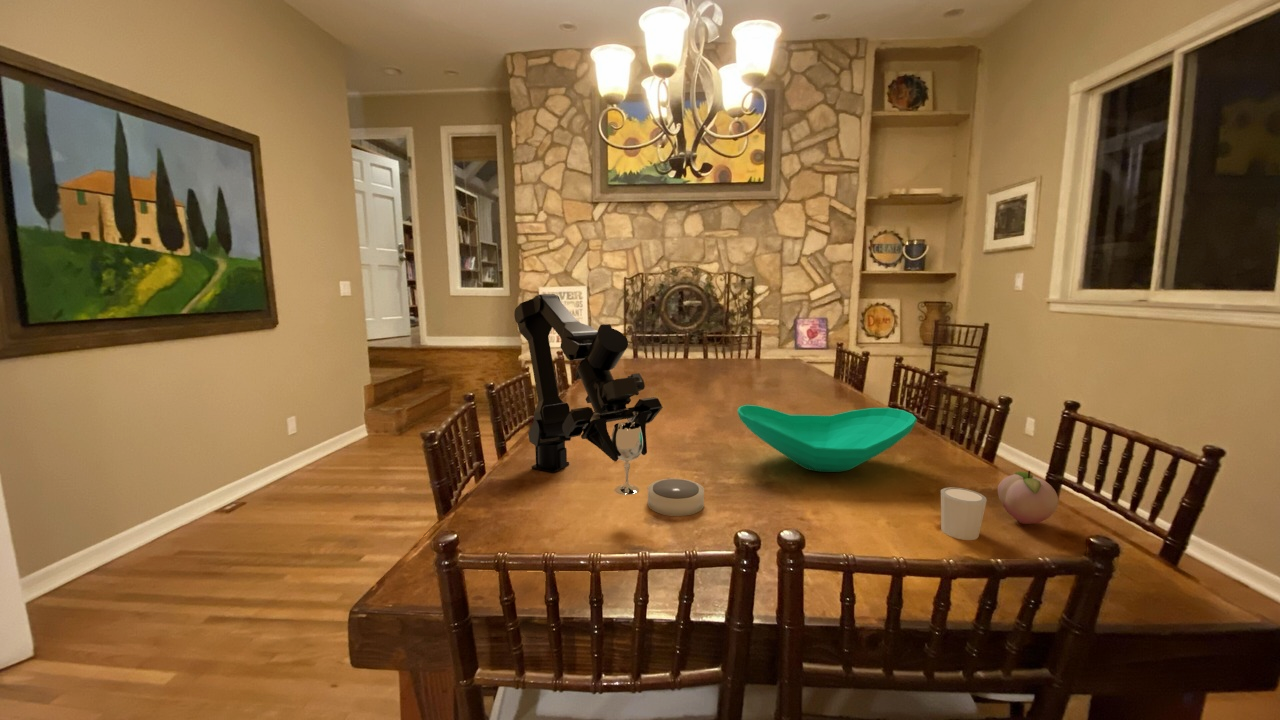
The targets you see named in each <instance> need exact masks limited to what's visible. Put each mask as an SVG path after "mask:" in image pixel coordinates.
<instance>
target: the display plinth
mask: <svg viewBox="0 0 1280 720" xmlns="http://www.w3.org/2000/svg"><path fill="white" fill-rule="evenodd" d="M704 501H705V488H704V487H703V486H702V485H701V484H700V483H697V482H696V481H693V480H690V479H684V478H663V479H659V480H656V481H653V482H652V483H650V484H649V485H648V487H647V506H648V508H649V509H650V508H651V509H652V510H651V509H650V510H651V511H653V512H655V513H657V514H660V515H664V516H668V517H669V516H670V517H686V516H691V515H695V514H696V513H697V514H698V513H699V512H701V511H702V510H703V509H704V506H705V502H704Z"/></svg>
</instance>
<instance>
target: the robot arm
mask: <svg viewBox="0 0 1280 720" xmlns="http://www.w3.org/2000/svg"><path fill="white" fill-rule="evenodd" d="M513 314H514V321H515V322H516V324H517V327H518V331H519V333H520V335H522V336H523V338H524V339H525V340H526V341H527V342H528V349H529V355H530V360H531V361H530V362H531V366H532V371H533V377H534V384H535V391H536V396H537V404H536V406H535V409H534V411H533V422H532V425H531V426H530V427H529V430H528V433H527V434H528V440H529V443H531V444H532V445H534V447H535V464H533V465H531V469H533V470H539V471H543V472H547V473H556V472H558V471H560V470H562V469H563V468H566V467H567V466H569V465H570V462H569V461H568V460H567V459H568V458H567V447H566V442H569V441H571V440H572V438H574V437H575V438H576V437H581V439H582V440H587V441H589V442H590V443H591V444H593V445H594V446H595V447H596V448H598V449H599V450H600V451H602V452H603V453H604V454H605V455H606V456H607V457H609V459H611V460H612V461H613V462H614V463H615V462H618V460H619V459H618V455H617V452H616V449H615V447H614V445H613V442H612V440H611V435H610V433H609V432H608V429H607V423H610V422H616V421H620V420H626V419H627V422H633V423H637V424H639V425H640V427H641V431H642V436H643V450H642V453H641V455H642V456H646V454H648V453H647V452H648V448H647V447H648V446H647V432H646V431H647V430H646V429H647V426H646V425H647V424H650V423H652V422H653V420H655V418H656V417H657V415H659V413H660V412H661V411H662V409H663V408H664V407H663V405H662V403H661V401H660V399H659V398H658V397H655V396H651V397H645V398H639V399H638V400H637V401H636V403H635V405H634V406H632V407H631V406H630V407H627V405H629V404H630V403H631V402H632V399H631V397H633V396H638V395H640V392H641V391H643V390H645V387H646V384H645V382H644V378H643V377H642V375H641V374H640V372H638V373H637V372H636V373H631V374H630V375H628V376H627V377H620V378H616V379H614V377H613V374H612V372H611V370H613V369H615V368H616V367H617V365H618V363H619V362H620V361H621V358H622V357H623V355H624V353H625V352H626V350H627V348H628V346H629V340H628V337H627V336H625V335H624V334H623V333H622V332H621V331H620V330H617V329H615V328H612V326H611V324H610V323H608V324H606V323H605V324H600V325H599V327H598V329H595V328H594V327H592V326H591V325H588V324H585V323H581V322H580V321H579V320H578V319H577V318H576V317H575V316H574V315H573V314H572V312H571V311H569V309H568V308H567V307H566V306H565V305H564V303H563V302H562V301H561V299H560V296H559V295H558V294H555V293H551V294H550V293H543V294H542V293H541V294H537V295H535V296H534V297H533V298H531V299H528V300H525V301H523V302H520V303H519V304H518V305H517V306H516V307H515V310H514V313H513ZM552 329H553V330H554V331H555V333H556V334H557V335H558V337H559V338H560V339H561V342H560V349H561V351H562V353H563V355H564V356H565V358H566V359H567V360H568V361H579V360H580V363H579V364H578V365H577V368H576V371H575V374H574V375H575V376H574V379H576V380H581V382H582V385H583V387H584V389H585V392H586V394H587V395H586V397H585V401H586V403H587V404H591V405H592V407H589V406H585V407H580V408H572V409H570V406H569V404H568V402H564V401H563V400H562V399H561V398H560V396H559V395H560V394H559V389H558V384H557V379H556V373H555V369H554V368H555V367H554V362H553V357H552V350H551V344H550V338H549V337H550V334H551V332H552Z"/></svg>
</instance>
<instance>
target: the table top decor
mask: <svg viewBox="0 0 1280 720" xmlns="http://www.w3.org/2000/svg"><path fill="white" fill-rule="evenodd" d="M737 414H738V418H739V419H740V421H741V422H742V423H743V424H744V425H745V426H746V428H747V429H749V431H750V432H751V433H753V434H754V435H756V436H757V437H758V438H759V439H761V440H762V441H763V442H764V443H765V444H767V445H769V446H771V447H772V448H773V449H775V450H776V451H777V452H779V453H780V454H782V455H784V457H786V458H788V459H790V460H791V461H792V462H794V463H796V464H797V465H799V466H800V467H801V468H804V469H806V470H810V471H813V472H820V473H821V472H822V473H825V472H826V473H832V472H833V473H836V472H837V473H842V472H846V471H849V470H851V469H852V470H853V469H854V468H856V467H858V466H860V465H862V464H863V463H865V462H867V461H868V460H871V459H873V458H874V457H877V456H879V455H880V454H882V453H884V452H885V451H887V450H888V449H890V448H891V447H894V445H896V444H897V443H898V442H900V441H901V440H902V439H903V438H905V437H906V436H908V435H909V434H910V433H911V431H913V429H914V427H915V424H916V423H917V422H918V421H917V420H918V418H917V417H916V416H915V415H914V414H913V413H910V412H908V411H906V410H904V409H898V408H892V407H870V408H869V407H868V408H860V409H855V410H853V409H852V410H849V411H845V412H841V413H836V414H832V415H831V414H830V415H822V414H821V415H817V414H816V415H815V414H814V415H813V414H788V413H785V412H782V411H779V410H775V409H773V408H770V407H769V408H768V407H764V406H761V405H760V406H759V405H755V404H754V405H753V404H752V405H751V404H745V405H741V406H739V407H738V408H737Z"/></svg>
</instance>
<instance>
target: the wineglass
mask: <svg viewBox="0 0 1280 720" xmlns="http://www.w3.org/2000/svg"><path fill="white" fill-rule="evenodd" d="M610 438H611V440H612V442H613V445H614V447H615V449H616V452H617V455H618V460H620V461H622V462H624V464H623V466H624V467H623V468H624V471H625V482H624V484H622V485H621V484H620V485H618V486H616V487H615V488H614V492H615V493H616V494H617V495H622V496H632V495H636V494H638V493H639V492H640V488H639V487H638V486H636V485H633V484H630V483H629V472H630V469H631V467H630V466H631V465H630V462H631V461H634V460H636V459H637V458H639V457H640V456H641V455H642V450H643V436H642V431H641V427H640V425H639V424H637V423H633V422H628V421H627V422H626V421H624V422H623V421H622V422H618V423H615V424H614V425H613V429H612V432H611V436H610Z"/></svg>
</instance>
